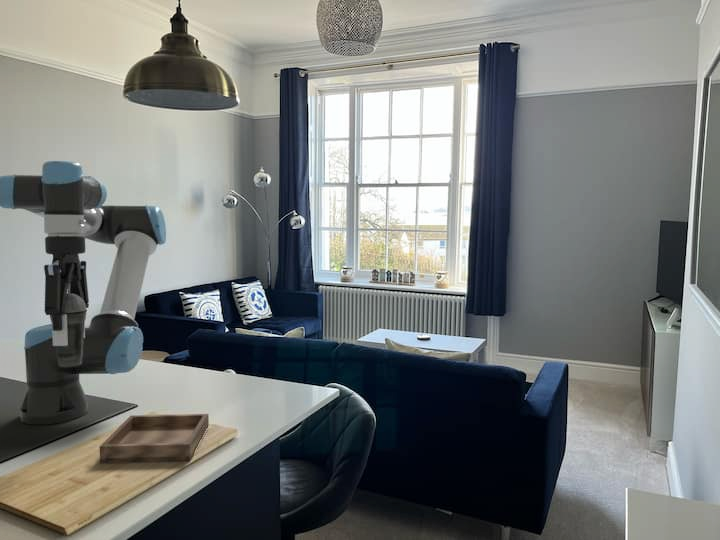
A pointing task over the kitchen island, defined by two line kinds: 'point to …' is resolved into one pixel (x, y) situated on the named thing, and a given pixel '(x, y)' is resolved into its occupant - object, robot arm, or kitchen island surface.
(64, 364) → the beverage cup
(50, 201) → the robot arm
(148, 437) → the serving tray
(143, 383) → the kitchen island surface
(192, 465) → the kitchen island surface
